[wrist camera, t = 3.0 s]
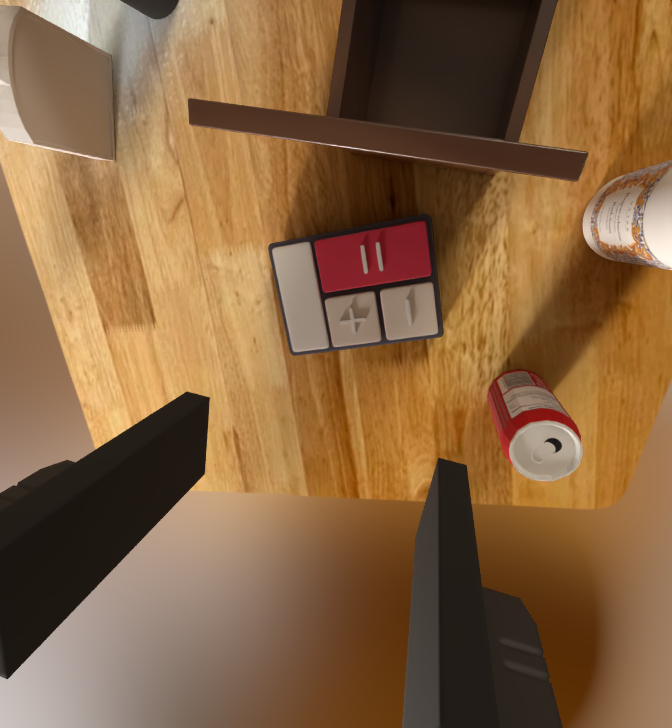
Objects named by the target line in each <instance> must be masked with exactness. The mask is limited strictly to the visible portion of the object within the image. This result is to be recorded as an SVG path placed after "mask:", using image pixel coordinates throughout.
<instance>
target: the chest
mask: <svg viewBox="0 0 672 728" xmlns="http://www.w3.org/2000/svg"><path fill="white" fill-rule="evenodd" d="M557 2H558V0H343V2H342V10H341V17H340V24H339V32H338V39H337V46H336V54H335V61H334V68H333V76H332V83H331V90H330V98H329V105H328V112H327V117H333V118H340V119H348V120H355V121H363V122H370V123H377V124H385V125H392V126H400V127H407V128H415V129H422V130H429V131H437V132H444V133H452V134H459V135H467V136H474V137H481V138H489V139H496V140H504V141H511V142H518V141H519V137H520V134H521V130H522V127H523V123H524V119H525V116H526V112H527V109H528V105H529V102H530V98H531V94H532V91H533V87H534V84H535V80H536V77H537V73H538V69H539V66H540V62H541V59H542V55H543V52H544V48H545V44H546V41H547V37H548V34H549V30H550V27H551V23H552V19H553V16H554V12H555V9H556V5H557ZM346 149H347V150H348V151H349V152H350V153H351V154H352V155H357V156H364V157H371V158H378V159H384V160H391V161H398V162H404V163H411V164H418V165H425V166H431V167H438V168H445V169H451V170H458V171H465V172H472V173H478V174H485V175H492V176H494V175H495V174H496V173H497V172H498V171H499V170H492V169H486V168H479V167H472V166H465V165H458V164H451V163H445V162H438V161H431V160H424V159H417V158H410V157H404V156H397V155H390V154H383V153H376V152H369V151H363V150H356V149H349V148H346Z"/></svg>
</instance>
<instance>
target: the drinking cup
mask: <svg viewBox="0 0 672 728" xmlns="http://www.w3.org/2000/svg"><path fill="white" fill-rule="evenodd" d="M121 1H122V2H124V3H126V4H127V5H129V6H131V7H133V8H134V9H136V10H138V11H140V12H141V13H143V14H145V15H147V16H148V17H150V18H153V19H162V18H165V17H167V16H168V15H170V14H171V13H172V12H173V10H174V9H175V7H176V5H177V3H178V0H121Z"/></svg>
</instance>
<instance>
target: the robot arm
mask: <svg viewBox="0 0 672 728" xmlns="http://www.w3.org/2000/svg"><path fill="white" fill-rule="evenodd" d="M209 401H210V398H209V397H206V396H202V395H198V394H194V393H190V392H185V393H184V394H182V395H181V396H179V397H178V398H176V399H174V400H173V401H171V402H170V403H168V404H167V405H165V406H164V407H162V408H160V409H159V410H157V411H156V412H154V413H153V414H151V415H149V416H148V417H146V418H145V419H143V420H142V421H140V422H138V423H137V424H135V425H134V426H132V427H131V428H129V429H127V430H126V431H124V432H123V433H121V434H120V435H118V436H116V437H115V438H113V439H112V440H110V441H109V442H107V443H105V444H104V445H102V446H101V447H99V448H98V449H96V450H95V451H93V452H91V453H90V454H88V455H87V456H85V457H84V458H82V459H80V460H79V461H77V462H76V463H75V462H72V461H69V460H66V461H63V462H60V463H57V464H54V465H51V466H48V467H46V468H43V469H40V470H38V471H37V472H35V473H33V474H32V475H30V476H28V477H27V478H25V479H23V480H22V481H20V482H18V485H17V486H12V487H10V488H8V489H6V490H5V491H3V492H1V493H0V676H1V677H3V678H6V679H8V678H9V677H10V676H11V675H12V674H13V673H14V672H15V671H16V670H17V669H18V668H19V667H20V666H21V664H23V663H24V662H25V661H26V659H27V658H28V657H29V656H30V655H31V654H32V653H33V652H34V651H35V650H36V649H37V648H38V647H39V646H40V645H41V644H42V643H43V642H44V641H45V640H46V639H47V638H48V636H50V634H51V633H52V632H53V631H54V630H55V629H56V628H57V627H58V626H59V625H60V624H61V623H62V622H63V621H64V620H65V619H66V618H67V617H68V616H69V615H70V614H71V612H73V611H74V610H75V608H76V607H77V606H78V605H79V604H80V603H81V602H82V601H83V600H84V599H85V598H86V597H87V596H88V595H89V594H90V593H91V591H93V590H94V589H95V588H96V587H97V585H98V584H99V583H100V582H101V581H102V580H103V579H104V578H105V577H106V576H107V575H108V574H109V573H110V572H111V571H112V570H113V569H114V568H115V567H116V566H117V565H118V563H120V562H121V560H122V559H123V558H124V557H125V556H126V555H127V554H128V553H129V552H130V551H131V550H132V549H133V548H134V547H135V546H136V545H137V544H138V543H139V542H140V541H141V540H142V539H143V538H144V537H145V536H146V535H147V533H148V532H149V531H150V530H151V529H152V528H153V527H154V526H155V525H156V524H157V523H158V522H159V521H160V520H161V519H162V518H163V517H164V516H165V515H166V514H167V513H168V512H169V511H170V510H171V509H172V507H173V506H174V505H175V504H176V503H177V502H178V501H179V500H180V499H181V498H182V497H183V496H184V495H185V494H186V493H187V492H188V491H189V490H190V489H191V488H192V487H193V486H194V485H195V484H196V482H197V481H198V480H199V479H200V478H201V477H202V476H203V475H204V474H205V462H206V447H207V431H208V416H209ZM411 597H412V598H411V610H410V626H409V640H408V654H407V669H406V682H405V683H406V684H405V697H404V712H403V725H402V726H403V727H402V728H562V724H561V720H560V716H559V712H558V708H557V704H556V700H555V696H554V692H553V688H552V685H551V683H550V682H549V677H550V676H549V673H548V668H547V665H546V661H545V658H543V649H542V645H541V641H540V637H539V633H538V629H537V625H536V623H535V622H534V620H533V618H532V617H531V615H530V614H529V612H528V611H527V609H526V607H525V606H524V604H523V603H522V601H521V599H520V598H517V597H514V596H511V595H507V594H504V593H501V592H498V591H495V590H491V589H488V588H485V587H482V585H481V575H480V568H479V560H478V552H477V544H476V537H475V528H474V520H473V512H472V505H471V497H470V489H469V481H468V473H467V465H464V464H460V463H456V462H452V461H449V460H445V459H441V458H438V461H437V464H436V468H435V471H434V475H433V478H432V482H431V485H430V489H429V492H428V496H427V499H426V502H425V506H424V510H423V513H422V516H421V520H420V524H419V527H418V530H417V534H416V540H415V553H414V568H413V583H412V596H411Z"/></svg>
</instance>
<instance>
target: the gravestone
mask: <svg viewBox="0 0 672 728" xmlns="http://www.w3.org/2000/svg"><path fill="white" fill-rule="evenodd" d="M0 130H1V132H2V133H3V135H4V136H5V138H6V139H7V140H9V141H14V142H18V143H23V144H28V145H32V146H37V147H42V148H47V149H51V150H56V151H61V152H65V153H70V154H75V155H79V156H84V157H89V158H94V159H101V160H108V161H115V138H114V110H113V82H112V55H110V54H108V53H106V52H104V51H102V50H101V49H99V48H97V47H95V46H93V45H91V44H89V43H88V42H86V41H84V40H82V39H80V38H78V37H76V36H75V35H73V34H71V33H69V32H67V31H65V30H64V29H62V28H60V27H58V26H56V25H54V24H52V23H51V22H49V21H47V20H45V19H43V18H41V17H39V16H38V15H36V14H34V13H32V12H30V11H28V10H27V9H25V8H23V7H20V6H6V5H0Z"/></svg>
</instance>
